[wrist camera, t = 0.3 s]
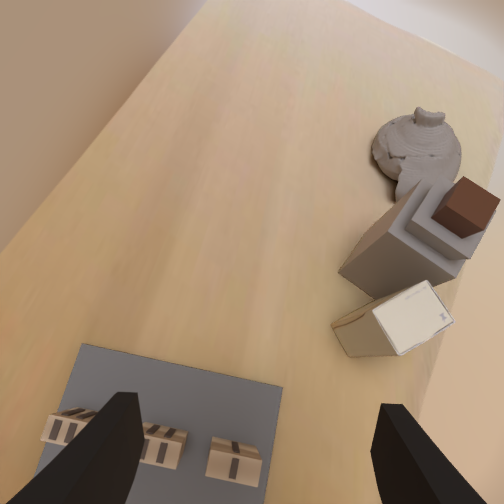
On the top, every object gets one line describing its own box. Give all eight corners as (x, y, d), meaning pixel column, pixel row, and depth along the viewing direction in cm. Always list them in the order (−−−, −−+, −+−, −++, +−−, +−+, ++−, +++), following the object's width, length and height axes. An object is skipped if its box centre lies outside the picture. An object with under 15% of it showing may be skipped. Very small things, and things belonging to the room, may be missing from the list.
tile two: (183, 453, 34) (175, 470, 29) (138, 443, 34) (122, 458, 29) (188, 429, 35) (182, 441, 29) (145, 420, 35) (130, 430, 29)
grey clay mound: (345, 169, 51) (358, 105, 42) (403, 135, 54) (426, 67, 45) (409, 221, 45) (439, 159, 36) (470, 179, 48) (512, 112, 39)
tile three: (114, 438, 34) (92, 452, 29) (69, 428, 34) (39, 440, 29) (121, 414, 35) (101, 424, 29) (77, 405, 35) (49, 412, 29)
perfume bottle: (365, 232, 45) (453, 148, 28) (409, 263, 44) (529, 196, 27) (337, 272, 43) (415, 208, 26) (384, 305, 42) (496, 262, 25)
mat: (252, 566, 33) (252, 569, 32) (21, 517, 32) (18, 519, 32) (281, 387, 38) (282, 387, 37) (84, 343, 38) (81, 343, 37)
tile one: (251, 468, 35) (257, 487, 29) (207, 458, 35) (204, 476, 29) (256, 444, 35) (262, 459, 29) (212, 434, 35) (211, 447, 29)
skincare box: (371, 301, 42) (428, 275, 30) (392, 334, 41) (459, 321, 29) (327, 325, 40) (370, 308, 29) (348, 360, 39) (400, 357, 28)
